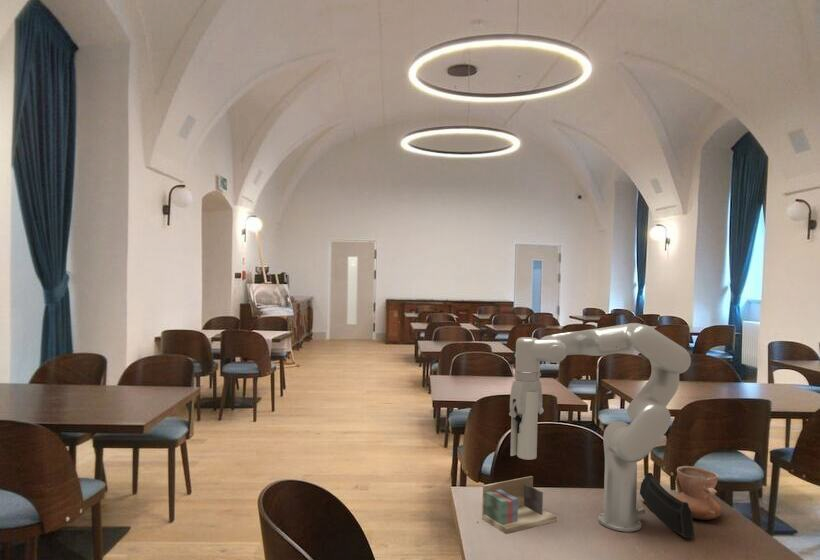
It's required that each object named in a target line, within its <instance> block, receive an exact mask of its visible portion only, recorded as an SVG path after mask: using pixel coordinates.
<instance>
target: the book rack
mask: <svg viewBox="0 0 820 560" xmlns="http://www.w3.org/2000/svg"><path fill="white" fill-rule="evenodd" d="M543 495H544V492H543V491H541V490H540V489H536V488H534V476H532V475H530V476H524V477H520V478H519V477H518V478H514V479H509V480H504V481H499V482H494V483H493V482H492V483H488V484H483V485H482V512H481V513H482V516H481V518H482V520H484V521H485V522H487V523H488V524H490V525H492V526H493V527H495V528H496V529H498V530H499V531H501V532H503V533H504V534H505V535H507V534H511V533H517V532H520V531H523V530H527V529H530V528H531V529H532V528H536V527H538V526H544V525H546V524H552V523H555V522H557V516H556V515H555V514H552V513H551V512H549V511H547V510H545V509H543V504H544V503H543V501H544V500H543V497H544V496H543Z"/></svg>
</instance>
